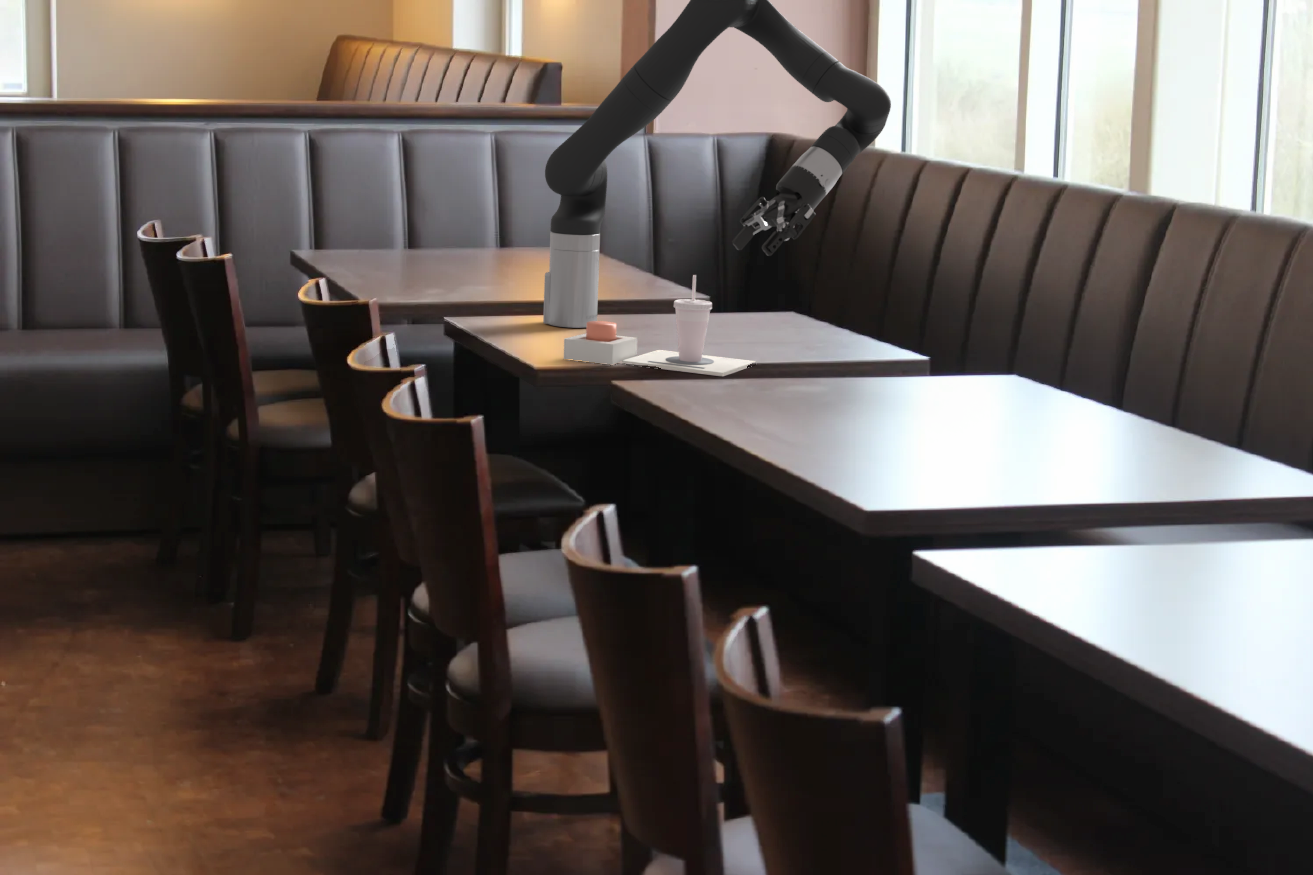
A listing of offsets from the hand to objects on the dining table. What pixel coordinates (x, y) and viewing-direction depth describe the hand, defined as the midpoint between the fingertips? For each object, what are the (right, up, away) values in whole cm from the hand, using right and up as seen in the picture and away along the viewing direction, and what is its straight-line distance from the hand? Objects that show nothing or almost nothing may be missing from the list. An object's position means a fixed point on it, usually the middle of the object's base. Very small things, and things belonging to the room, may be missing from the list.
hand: (750, 249), depth 284 cm
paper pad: (-10, -19, -2) cm, 22 cm away
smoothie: (-10, -19, -2) cm, 21 cm away
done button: (-25, -16, -1) cm, 29 cm away
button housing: (-25, -18, -1) cm, 31 cm away
